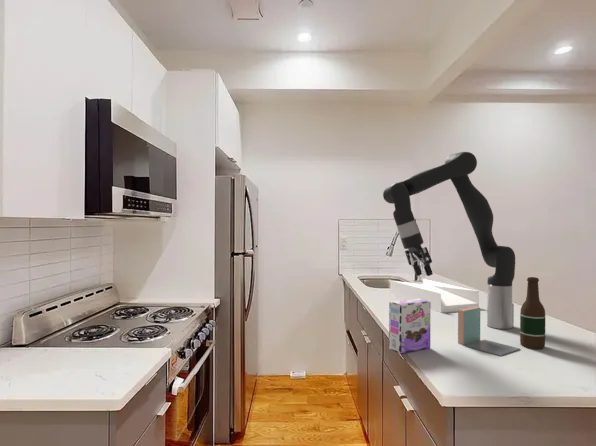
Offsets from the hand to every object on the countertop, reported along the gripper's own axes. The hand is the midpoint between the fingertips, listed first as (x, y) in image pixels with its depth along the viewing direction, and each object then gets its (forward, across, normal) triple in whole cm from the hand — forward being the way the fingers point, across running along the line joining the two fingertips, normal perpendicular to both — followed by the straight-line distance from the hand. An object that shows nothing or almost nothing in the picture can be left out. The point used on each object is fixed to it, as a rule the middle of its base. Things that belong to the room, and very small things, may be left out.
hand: (424, 275), depth 158 cm
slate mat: (+29, -14, -8) cm, 33 cm away
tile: (+27, -6, -5) cm, 28 cm away
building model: (+26, +63, -28) cm, 74 cm away
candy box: (+20, -9, +19) cm, 29 cm away
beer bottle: (+34, -14, -22) cm, 43 cm away
